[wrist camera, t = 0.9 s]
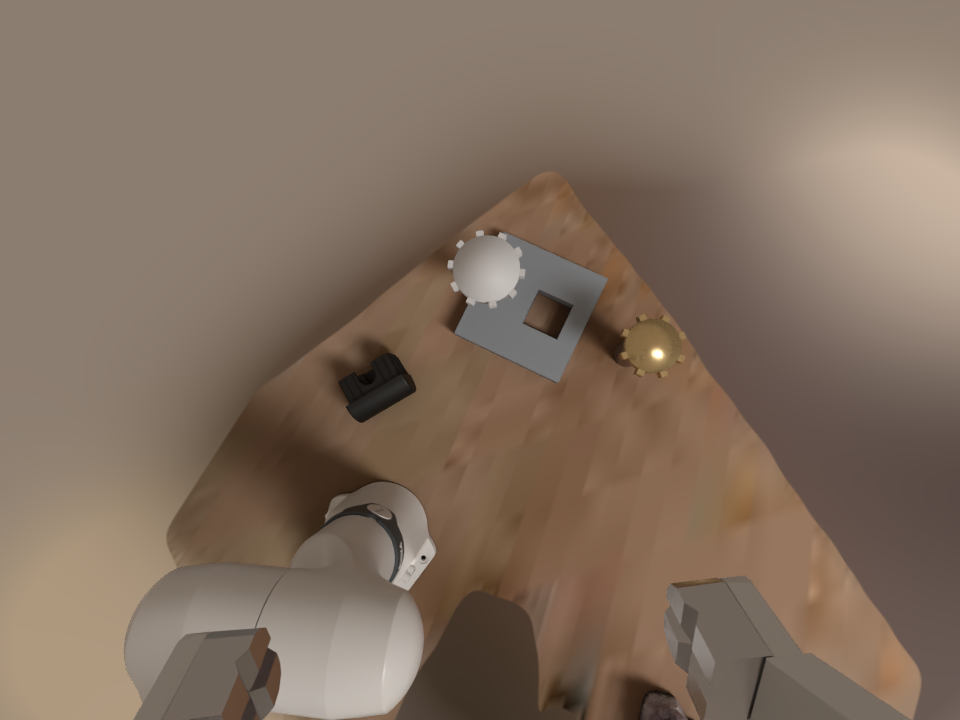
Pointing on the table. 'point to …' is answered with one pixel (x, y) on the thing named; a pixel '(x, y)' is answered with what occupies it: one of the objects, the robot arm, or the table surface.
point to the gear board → (521, 300)
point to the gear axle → (650, 346)
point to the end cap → (377, 387)
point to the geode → (661, 707)
